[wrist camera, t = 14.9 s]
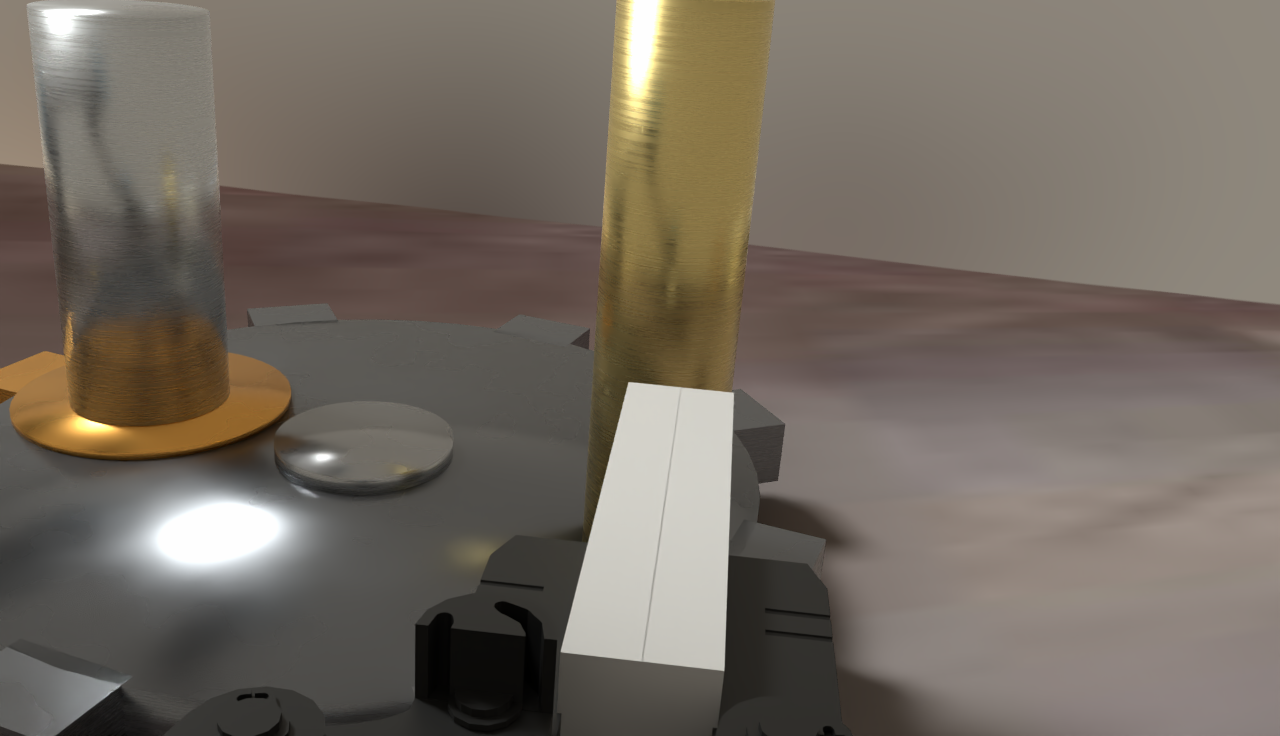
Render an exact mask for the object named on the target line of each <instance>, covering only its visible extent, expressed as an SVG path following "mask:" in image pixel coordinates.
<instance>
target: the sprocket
mask: <svg viewBox="0 0 1280 736" xmlns="http://www.w3.org/2000/svg"><path fill="white" fill-rule="evenodd" d="M774 5H775V0H617V5H616V19H615V35H614V52H613V66H612V82H611V99H610V114H609V129H608V145H607V161H606V177H605V192H604V208H603V225H602V239H601V255H600V270H599V286H598V302H597V317H596V333H595V349H594V351H592V350H589V334H590V328H585V327H580V326H575V325H570V324H565V323H560V322H555V321H550V320H545V319H540V318H535V317H530V316H525V315H518V316H517V317H515V318H513V319H512V320H510V321H509V322H507V323H506V324H504V325H503V326H501V327H500V328H498V329H492V328H484V327H476V326H469V325H461V324H449V323H437V322H424V321H403V320H337V318H336V317H335V315H334V314H333V312H332V310H331V309H330V307H329V305H328V304H312V305H298V306H283V307H268V308H254V309H247V315H248V327H245V328H238V329H231V330H227V343H228V361H229V380H230V395H229V397H228V399H227V400H226V401H225V402H224V403H223V404H222V405H221V406H219V407H218V408H216V409H214V410H213V411H210V412H208V413H206V414H204V415H201V416H198V417H195V418H191V419H188V420H184V421H179V422H174V423H168V424H160V425H149V426H121V425H111V424H104V423H99V422H95V421H92V420H88V419H86V418H84V417H81V416H80V415H78V414H76V413H75V412H74V411H73V410H72V409H71V407H70V404H69V396H68V386H67V377H66V368H65V358H64V356H63V355H59V354H55V353H51V352H47V351H44V352H42V353H39V354H37V355H34V356H32V357H29V358H27V359H24V360H21V361H19V362H16V363H14V364H11V365H9V366H6V367H4V368H1V369H0V736H163V735H164V734H165V733H166V732H168V731H169V730H170V729H171V728H172V727H173V726H174V725H175V724H176V723H178V722H179V721H180V720H181V719H182V718H183V717H184V716H185V715H186V714H188V713H189V712H190V711H192V710H193V709H195V708H196V707H198V706H200V705H201V704H203V703H204V702H206V701H207V700H209V699H210V698H213V697H216V696H219V695H222V694H225V693H228V692H231V691H234V690H237V689H245V688H255V687H265V686H268V687H274V688H281V689H288V690H293V691H295V692H298V693H300V694H302V695H304V696H306V697H308V698H310V699H312V700H313V701H314V702H315V703H316V705H317V706H318V707H319V708H320V710H321V711H322V712H323V714H324V715H325V727H327V726H337V725H346V724H356V723H364V722H370V721H375V720H381V719H386V718H388V717H391V716H394V715H397V714H400V713H403V712H405V711H407V710H409V709H410V708H411V706H412V703H413V701H414V699H415V624H416V623H417V621H418V620H419V619H420V618H421V617H422V615H423V614H424V613H425V612H426V611H427V609H429V608H431V607H433V606H435V605H437V604H439V603H441V602H443V601H445V600H446V599H449V598H454V597H458V596H463V595H467V594H472V593H475V592H476V590H477V587H478V585H480V580H481V577H482V575H483V572H484V570H485V567H486V565H487V562H488V560H489V557H490V555H491V554H492V553H493V552H495V551H496V550H497V549H498V548H500V547H501V546H502V545H504V544H505V543H506V542H507V541H509V540H510V539H511V538H513V537H514V536H515V535H521V536H531V537H540V538H549V539H558V540H567V541H576V542H586V543H588V541H589V537H590V533H591V529H592V525H593V521H594V517H595V513H596V509H597V505H598V501H599V497H600V493H601V489H602V486H603V482H604V478H605V474H606V470H607V466H608V462H609V458H610V454H611V450H612V446H613V442H614V438H615V434H616V430H617V426H618V422H619V418H620V414H621V410H622V406H623V402H624V398H625V394H626V390H627V386H628V382H633V383H643V384H653V385H662V386H672V387H682V388H692V389H702V390H711V391H721V392H731V393H734V405H733V435H732V464H731V493H730V522H729V551H728V555H732V556H742V557H751V558H760V559H769V560H778V561H787V562H797V563H806V564H808V565H809V566H810V568H811V569H812V570H813V571H814V573H815V574H816V575H817V577H818V578H819V579H820V578H821V571H822V564H823V557H824V551H825V544H826V539H823V538H818V537H814V536H810V535H806V534H802V533H798V532H793V531H789V530H785V529H781V528H777V527H773V526H769V525H764V524H760V523H757V519H758V511H759V503H760V492H759V485H758V484H759V483H766V482H772V481H778V476H779V468H780V460H781V452H782V445H783V437H784V429H785V423H783V422H782V421H781V420H779V419H778V418H777V417H776V416H774V415H773V414H772V413H771V412H769V411H768V410H767V409H765V408H764V407H763V406H762V405H760V404H759V403H758V402H757V401H755V400H754V399H753V398H751V397H750V396H749V395H748V394H746V393H745V392H744V391H743V390H741V389H738V390H732V386H733V377H734V368H735V359H736V349H737V340H738V331H739V322H740V313H741V304H742V295H743V286H744V277H745V268H746V259H747V250H748V240H749V231H750V223H751V214H752V205H753V196H754V187H755V177H756V168H757V160H758V151H759V142H760V133H761V123H762V114H763V105H764V96H765V87H766V78H767V69H768V59H769V51H770V42H771V33H772V24H773V15H774Z"/></svg>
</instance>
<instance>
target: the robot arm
mask: <svg viewBox="0 0 1280 736" xmlns="http://www.w3.org/2000/svg"><path fill="white" fill-rule="evenodd" d="M733 405H734V393H731V392H721V391H711V390H702V389H692V388H682V387H672V386H662V385H653V384H643V383H633V382H628V386H627V390H626V394H625V398H624V402H623V406H622V410H621V414H620V418H619V422H618V426H617V430H616V434H615V438H614V442H613V446H612V450H611V454H610V458H609V462H608V466H607V470H606V474H605V478H604V482H603V486H602V489H601V493H600V497H599V501H598V505H597V509H596V513H595V517H594V521H593V525H592V529H591V533H590V537H589V541H588V543H586V542H576V541H567V540H558V539H549V538H540V537H531V536H521V535H515V536H514V537H513V538H511V539H510V540H509V541H507V542H506V543H505V544H504V545H502V546H501V547H500V548H498V549H497V550H496V551H495V552H493V553H492V554H491V555H490V557H489V560H488V562H487V565H486V567H485V570H484V572H483V575H482V577H481V580H480V585H478V587H477V590H476V592H475V593H472V594H467V595H463V596H458V597H454V598H449V599H446V600H445V601H443V602H441V603H439V604H437V605H435V606H433V607H431V608H429V609H427V611H426V612H425V613H424V614H423V615H422V617H421V618H420V619H419V620H418V621H417V623H416V624H415V699H414V701H413V703H412V706H411V708H410V709H409V710H407V711H405V712H403V713H400V714H397V715H394V716H391V717H388V718H386V719H381V720H375V721H370V722H364V723H356V724H346V725H337V726H327V727H325V715H324V714H323V712H322V711H321V710H320V708H319V707H318V706H317V705H316V703H315V702H314V701H313V700H312V699H310V698H308V697H306V696H304V695H302V694H300V693H298V692H295V691H293V690H288V689H281V688H274V687H268V686H265V687H255V688H245V689H237V690H234V691H231V692H228V693H225V694H222V695H219V696H216V697H213V698H210V699H209V700H207V701H206V702H204V703H203V704H201V705H200V706H198V707H196V708H195V709H193V710H192V711H190V712H189V713H188V714H186V715H185V716H184V717H183V718H182V719H181V720H180V721H179V722H178V723H176V724H175V725H174V726H173V727H172V728H171V729H170V730H169V731H168V732H166V733H165V734H164V735H163V736H852V733H851V731H850V730H849V729H848V728H847V727H846V726H845V725H844V724H843V723H842V718H841V709H840V700H839V691H838V682H837V673H836V664H835V655H834V646H833V642H832V628H831V621H830V609H829V600H828V591H827V588H826V587H825V585H824V584H823V583H822V582H821V580H820V579H819V578H818V577H817V575H816V574H815V573H814V571H813V570H812V569H811V568H810V566H809V565H808V564H806V563H797V562H787V561H778V560H769V559H760V558H751V557H742V556H732V555H728V551H729V522H730V493H731V464H732V435H733Z"/></svg>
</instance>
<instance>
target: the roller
mask: <svg viewBox="0 0 1280 736" xmlns="http://www.w3.org/2000/svg"><path fill="white" fill-rule="evenodd" d="M27 14H28V22H29V32H30V41H31V50H32V60H33V68H34V78H35V88H36V97H37V107H38V116H39V125H40V135H41V144H42V153H43V163H44V172H45V181H46V191H47V200H48V209H49V219H50V228H51V237H52V247H53V256H54V265H55V275H56V284H57V293H58V302H59V312H60V321H61V330H62V340H63V349H64V358H65V368H66V377H67V386H68V396H69V404H70V407H71V409H72V410H73V411H74V412H75V413H76V414H78V415H80V416H81V417H84V418H86V419H88V420H92V421H95V422H99V423H104V424H111V425H121V426H149V425H160V424H168V423H174V422H179V421H184V420H188V419H191V418H195V417H198V416H201V415H204V414H206V413H208V412H210V411H213V410H214V409H216V408H218V407H219V406H221V405H222V404H223V403H224V402H225V401H226V400H227V399H228V397H229V395H230V380H229V361H228V343H227V325H226V306H225V288H224V269H223V251H222V233H221V214H220V196H219V177H218V161H217V141H216V124H215V123H216V122H215V106H214V86H213V68H212V51H211V50H212V49H211V32H210V13H209V11H208V10H206V9H203V8H199V7H194V6H188V5H181V4H173V3H162V2H151V1H135V0H47V1H38V2H32V3H29V4H27Z"/></svg>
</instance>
